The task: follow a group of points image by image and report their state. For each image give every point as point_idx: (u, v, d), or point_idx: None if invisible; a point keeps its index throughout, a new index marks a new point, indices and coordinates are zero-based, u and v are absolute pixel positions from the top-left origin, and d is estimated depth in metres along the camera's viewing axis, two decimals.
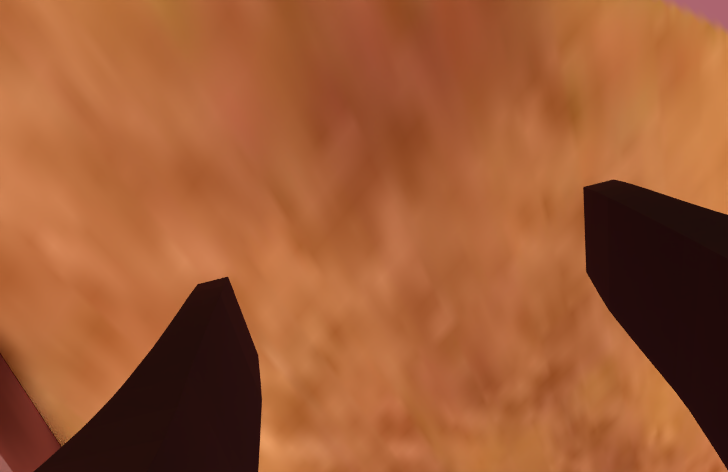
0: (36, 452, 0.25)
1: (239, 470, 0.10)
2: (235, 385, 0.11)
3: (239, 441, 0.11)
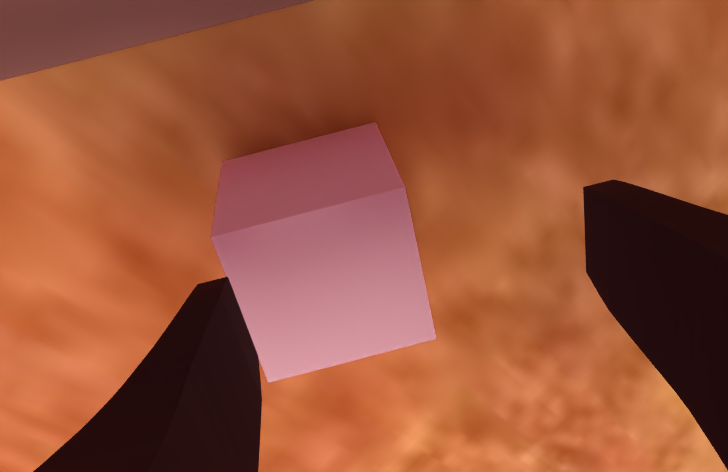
0: None
1: (239, 470, 0.10)
2: (235, 385, 0.11)
3: (239, 441, 0.11)
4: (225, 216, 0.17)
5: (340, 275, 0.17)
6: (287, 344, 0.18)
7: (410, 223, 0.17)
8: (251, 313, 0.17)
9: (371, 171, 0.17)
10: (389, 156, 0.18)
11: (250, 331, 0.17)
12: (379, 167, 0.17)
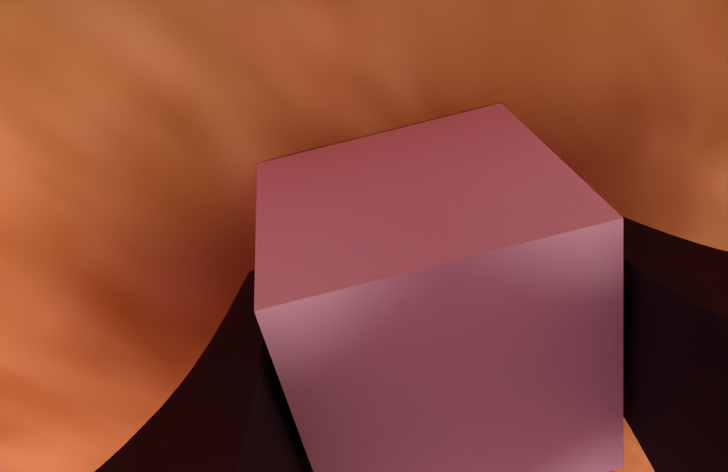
0: None
1: (301, 454, 0.10)
2: None
3: None
4: (276, 266, 0.09)
5: (482, 373, 0.09)
6: None
7: (619, 283, 0.09)
8: (319, 438, 0.10)
9: (535, 186, 0.10)
10: (557, 159, 0.10)
11: (315, 466, 0.10)
12: (549, 178, 0.10)
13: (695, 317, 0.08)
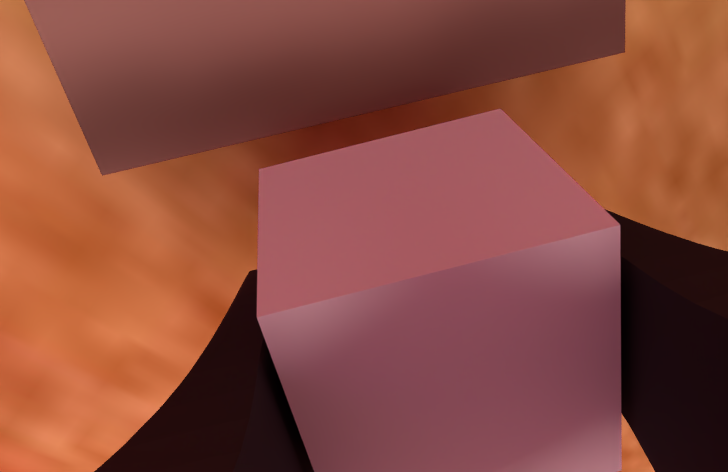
0: None
1: (301, 454, 0.10)
2: None
3: None
4: (279, 273, 0.09)
5: (481, 377, 0.10)
6: None
7: (616, 289, 0.09)
8: (321, 441, 0.10)
9: (534, 193, 0.10)
10: (556, 166, 0.10)
11: (317, 469, 0.10)
12: (547, 185, 0.10)
13: (695, 316, 0.08)
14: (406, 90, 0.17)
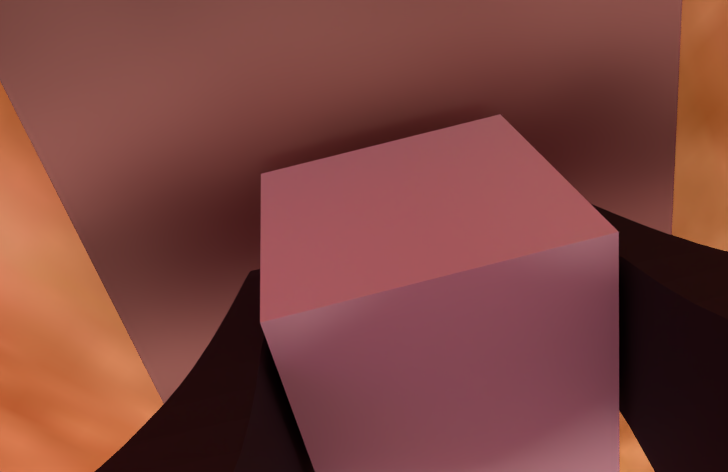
0: None
1: (301, 454, 0.10)
2: None
3: None
4: (281, 278, 0.09)
5: (481, 382, 0.10)
6: None
7: (614, 294, 0.09)
8: (323, 444, 0.10)
9: (533, 200, 0.10)
10: (555, 172, 0.10)
11: None
12: (547, 191, 0.10)
13: (694, 316, 0.08)
14: None
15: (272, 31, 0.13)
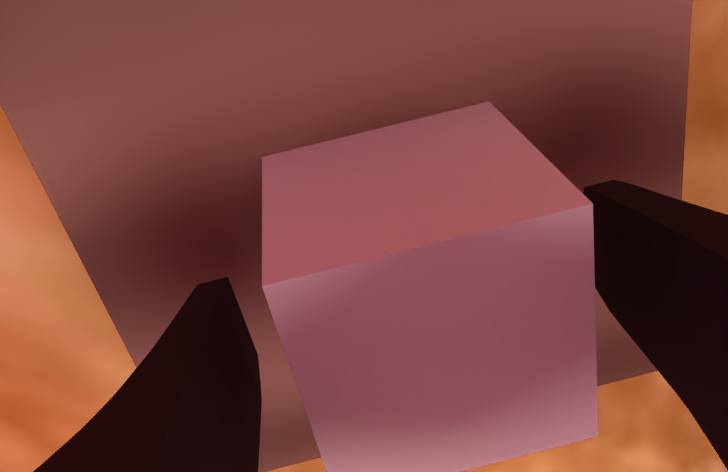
0: None
1: (239, 470, 0.10)
2: (235, 385, 0.11)
3: (239, 441, 0.11)
4: (282, 248, 0.10)
5: (467, 346, 0.10)
6: (372, 449, 0.11)
7: (590, 263, 0.10)
8: (320, 404, 0.11)
9: (516, 177, 0.11)
10: (537, 152, 0.11)
11: (316, 431, 0.11)
12: (529, 169, 0.11)
13: None
14: None
15: (271, 35, 0.12)
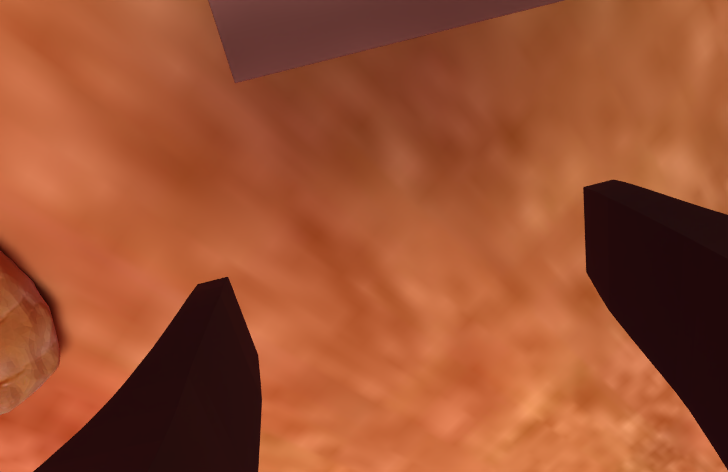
0: None
1: (239, 470, 0.10)
2: (235, 385, 0.11)
3: (239, 441, 0.11)
4: None
5: None
6: None
7: None
8: None
9: None
10: None
11: None
12: None
13: None
14: None
15: None
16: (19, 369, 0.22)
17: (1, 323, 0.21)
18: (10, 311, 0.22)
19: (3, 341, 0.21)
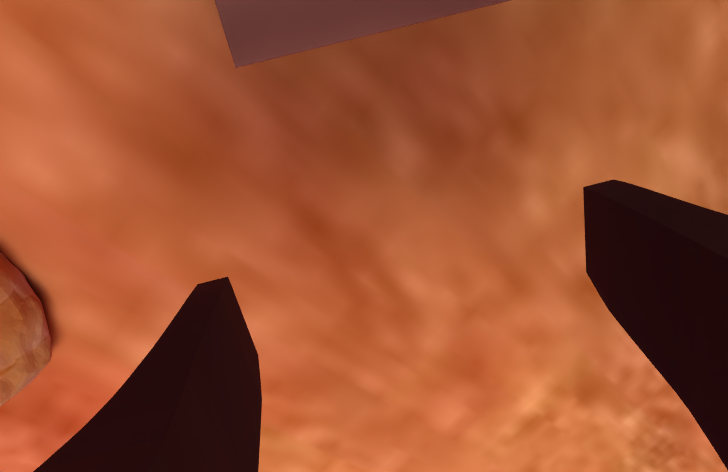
0: None
1: (239, 470, 0.10)
2: (235, 385, 0.11)
3: (239, 441, 0.11)
4: None
5: None
6: None
7: None
8: None
9: None
10: None
11: None
12: None
13: None
14: None
15: None
16: (10, 363, 0.22)
17: None
18: None
19: None
